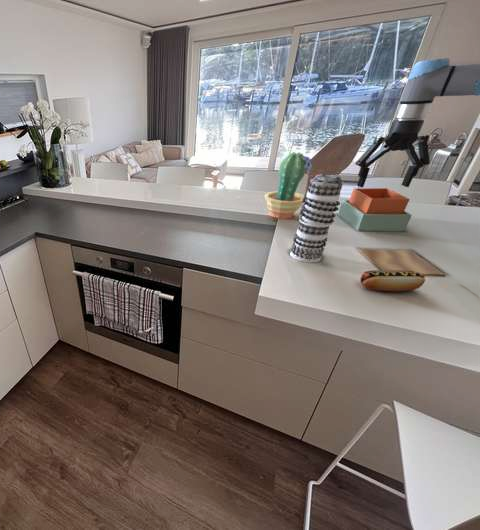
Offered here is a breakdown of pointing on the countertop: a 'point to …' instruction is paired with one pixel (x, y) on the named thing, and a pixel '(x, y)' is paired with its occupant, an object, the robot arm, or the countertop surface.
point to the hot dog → (392, 280)
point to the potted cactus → (288, 186)
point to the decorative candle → (316, 217)
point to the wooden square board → (400, 261)
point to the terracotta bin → (378, 201)
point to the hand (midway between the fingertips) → (382, 186)
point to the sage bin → (373, 219)
